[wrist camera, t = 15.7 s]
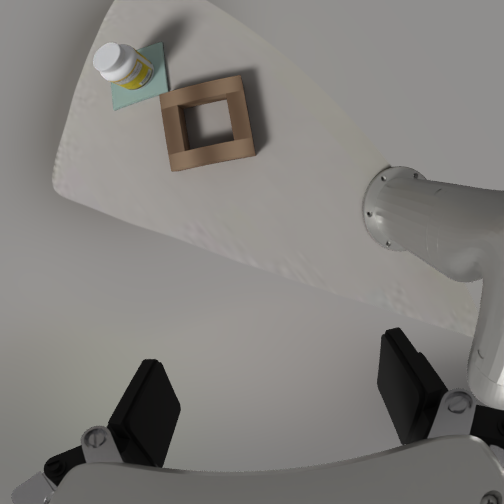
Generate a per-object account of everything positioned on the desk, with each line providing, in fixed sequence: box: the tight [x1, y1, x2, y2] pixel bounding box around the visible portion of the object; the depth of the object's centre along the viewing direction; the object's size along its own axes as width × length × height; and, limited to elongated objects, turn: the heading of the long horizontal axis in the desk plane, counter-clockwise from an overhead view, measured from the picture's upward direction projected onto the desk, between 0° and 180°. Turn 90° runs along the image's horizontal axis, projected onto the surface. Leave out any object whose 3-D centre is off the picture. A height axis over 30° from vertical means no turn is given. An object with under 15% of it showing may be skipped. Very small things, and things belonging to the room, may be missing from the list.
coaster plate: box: [111, 42, 169, 110], centre depth 34 cm, size 9×9×1 cm
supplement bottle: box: [93, 42, 154, 90], centre depth 29 cm, size 5×5×10 cm
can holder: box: [159, 75, 256, 172], centre depth 35 cm, size 11×11×3 cm
